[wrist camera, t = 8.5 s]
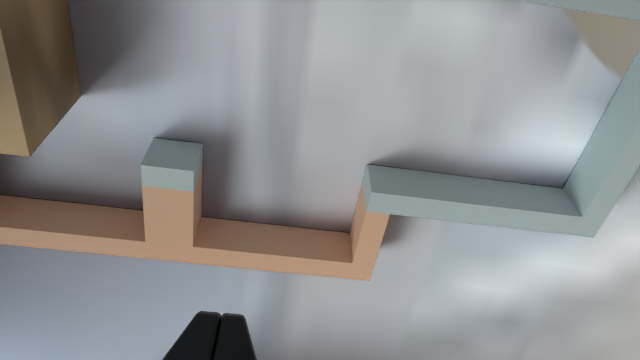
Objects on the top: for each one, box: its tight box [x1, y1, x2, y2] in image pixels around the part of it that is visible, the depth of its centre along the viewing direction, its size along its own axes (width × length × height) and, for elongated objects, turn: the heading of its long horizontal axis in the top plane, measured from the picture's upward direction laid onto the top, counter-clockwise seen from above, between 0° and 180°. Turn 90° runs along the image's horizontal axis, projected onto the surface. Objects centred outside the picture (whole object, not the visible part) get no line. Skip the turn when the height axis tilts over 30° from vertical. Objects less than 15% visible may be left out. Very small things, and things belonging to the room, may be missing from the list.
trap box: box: [0, 0, 640, 281], centre depth 19 cm, size 14×30×2 cm, turn 81°
